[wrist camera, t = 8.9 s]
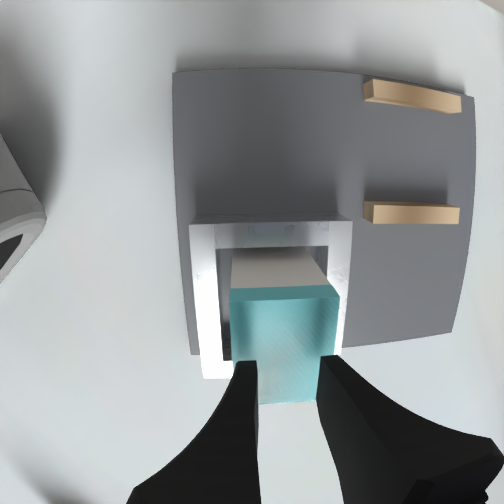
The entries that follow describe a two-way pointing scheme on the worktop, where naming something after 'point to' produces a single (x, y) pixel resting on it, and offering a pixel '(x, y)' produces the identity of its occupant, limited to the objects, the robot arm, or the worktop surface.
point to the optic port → (250, 236)
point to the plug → (282, 319)
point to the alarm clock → (16, 213)
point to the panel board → (330, 184)
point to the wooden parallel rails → (423, 100)
